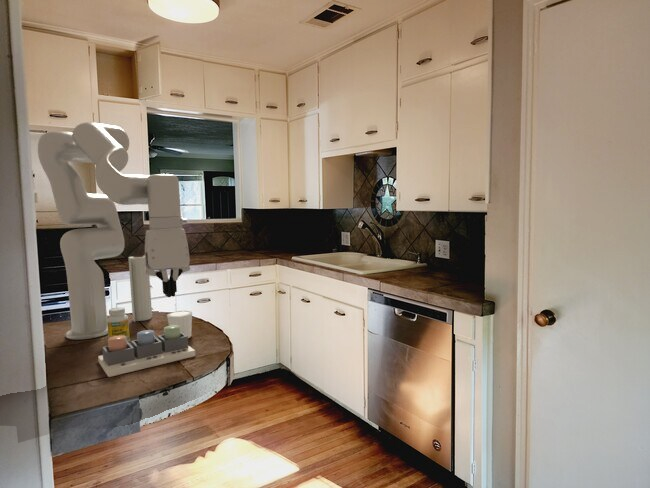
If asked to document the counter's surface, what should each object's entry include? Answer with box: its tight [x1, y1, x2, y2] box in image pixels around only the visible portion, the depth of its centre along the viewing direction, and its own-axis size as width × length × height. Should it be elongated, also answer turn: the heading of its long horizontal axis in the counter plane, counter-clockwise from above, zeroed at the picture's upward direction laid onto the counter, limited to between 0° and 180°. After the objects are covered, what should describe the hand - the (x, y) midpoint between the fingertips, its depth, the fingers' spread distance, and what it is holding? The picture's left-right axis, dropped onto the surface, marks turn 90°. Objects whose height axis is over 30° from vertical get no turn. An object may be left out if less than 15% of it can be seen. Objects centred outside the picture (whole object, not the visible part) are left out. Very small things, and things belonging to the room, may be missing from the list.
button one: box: [107, 335, 127, 352], centre depth 103 cm, size 4×4×4 cm
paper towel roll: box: [127, 255, 153, 323], centre depth 143 cm, size 7×6×21 cm
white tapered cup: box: [166, 310, 193, 339], centre depth 124 cm, size 7×7×7 cm
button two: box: [136, 329, 156, 346], centre depth 107 cm, size 4×4×4 cm
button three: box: [163, 325, 181, 340], centre depth 111 cm, size 4×4×4 cm
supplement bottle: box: [107, 306, 131, 343], centre depth 121 cm, size 5×5×10 cm
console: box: [97, 332, 196, 378], centre depth 107 cm, size 12×20×4 cm, turn 127°
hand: (170, 295), depth 110 cm, fingers closed
